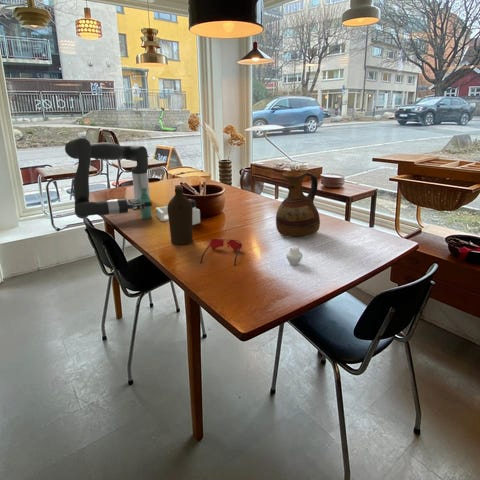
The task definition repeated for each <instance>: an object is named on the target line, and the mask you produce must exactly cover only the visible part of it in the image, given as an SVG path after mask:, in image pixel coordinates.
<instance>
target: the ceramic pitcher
mask: <svg viewBox="0 0 480 480" xmlns="http://www.w3.org/2000/svg"><path fill="white" fill-rule="evenodd" d="M282 176H283V177H284V178H285V180H287V189H288V194H287V197H285V198H284V199H283V201H281V203H280V205H279V206H278V208H277V211H276V216H275V227H276V230H277V232H278V233H279V234H280V235H282V236H284V237H288V238H297V239H298V238H304V237H309V236H313V235H314V234H315V233H317V232H319V230H320V226H321V219H320V214H319V211H318V209H317V207H316V205H315V204H314V203H315V202H314V201H315V197H316V194H317V191H318V185H319V184H318V183H319V181H318V179H317V177H316V176H315V174H313V173H312V172H309V171H308V170H305V169H293V170H286V171H283V172H282ZM306 177H310V181H311V182H310V184H311V185H310V189H309V192H308V195H304V192H303V186H302V185H303V180H304V178H306Z"/></svg>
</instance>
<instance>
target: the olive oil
mask: <svg viewBox="0 0 480 480" xmlns="http://www.w3.org/2000/svg"><path fill="white" fill-rule="evenodd" d="M188 199H189V198H187V196H185V195H184V188H183V185H181V184H177V185H175V186H174V196H172V198H171V199H170V200H169V202H168V204H167V206H168V207H167V210H168V217H169V220H168V225H169V231H170V232H169V234H170V242H171V243H172V245H176V246H185V245H189V244H191V243H192V242H193V240H194V238H193V225H192V204H191V202H190V201H189V200H188Z"/></svg>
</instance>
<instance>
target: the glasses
mask: <svg viewBox="0 0 480 480" xmlns="http://www.w3.org/2000/svg"><path fill="white" fill-rule="evenodd" d="M224 241H225V239H224V238H223V239H222V238H211V240H210V243H209V245H208V246H207V247H206V249H205V250H204V252H203V253H202V255H201V258H200V261H199V264H202V262H203V258H204V255H205V254H206V253H207V251H208V250H209V248H212V249H213V250H214V249H217V248H221V247H224V243H225V242H224ZM226 243H227V248H229V247H230V248H231V249H232V250H234V251H237V252H236V255H235V257H234V262H233V264H234V265H233V266H234V267H235V266H236V264H237V258H238V255H239V252H240V250H241V249H242V246H243V244H242V242H241V241H239V240H236V239H229V240H228V241H227V242H226Z"/></svg>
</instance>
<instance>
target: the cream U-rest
mask: <svg viewBox="0 0 480 480" xmlns="http://www.w3.org/2000/svg"><path fill="white" fill-rule="evenodd" d="M167 207H168V205H167V206H165V205H164V206H158V207H155V214H156V217H157V218H158V219H159V220H160V221H161V222H165V221H166V222H167V221H169V217H168V210H167Z"/></svg>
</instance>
